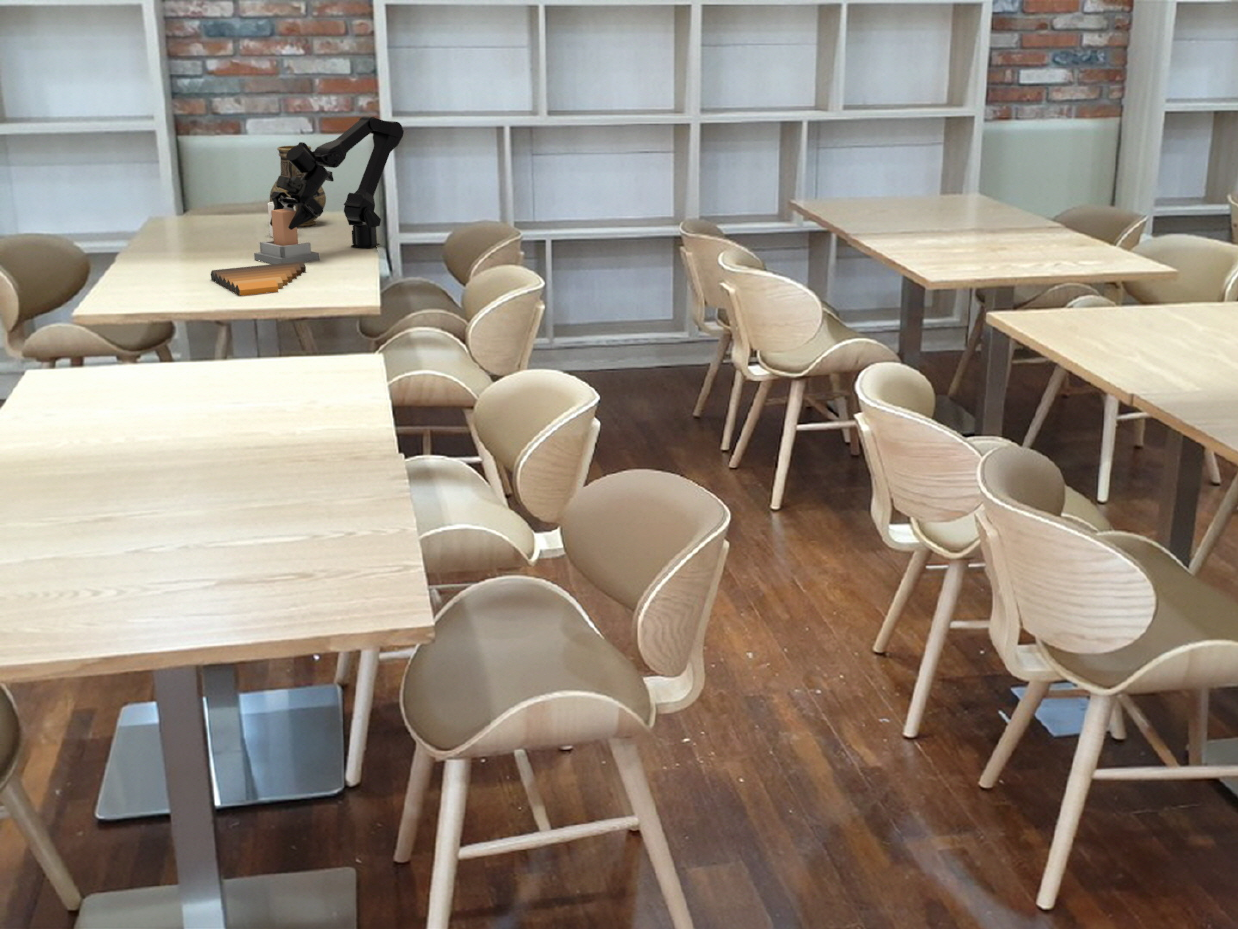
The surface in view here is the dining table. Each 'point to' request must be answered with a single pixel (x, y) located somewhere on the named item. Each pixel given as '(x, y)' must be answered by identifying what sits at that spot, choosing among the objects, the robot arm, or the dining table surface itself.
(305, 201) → the robot arm
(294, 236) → the peach block
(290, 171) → the decorative pitcher
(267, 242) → the dock
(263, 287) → the pan flute
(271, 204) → the mug
